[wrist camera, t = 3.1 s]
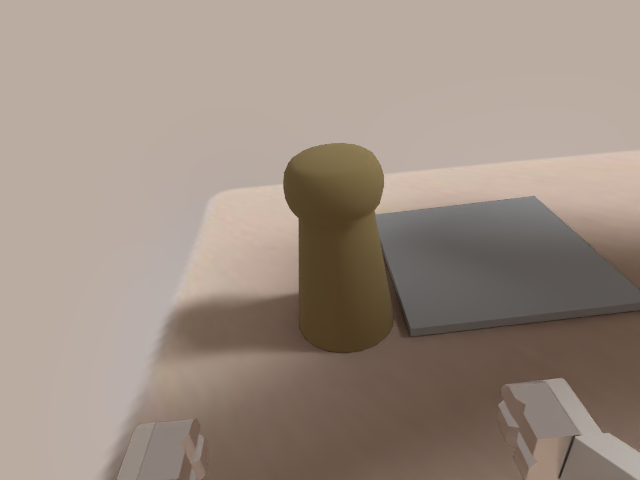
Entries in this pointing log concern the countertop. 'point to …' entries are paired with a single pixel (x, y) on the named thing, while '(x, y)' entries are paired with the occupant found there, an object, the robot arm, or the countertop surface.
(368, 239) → the olive chess pawn
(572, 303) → the plate
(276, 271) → the countertop surface
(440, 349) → the countertop surface
